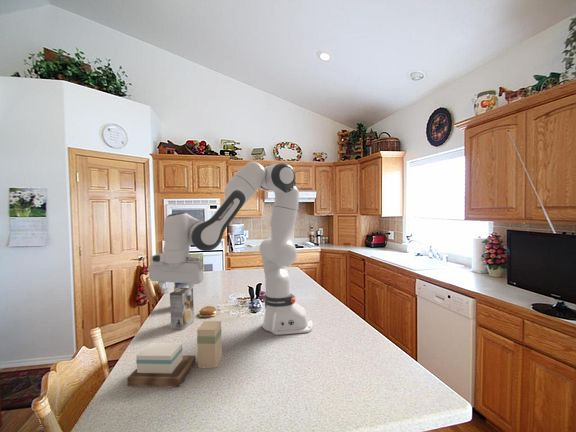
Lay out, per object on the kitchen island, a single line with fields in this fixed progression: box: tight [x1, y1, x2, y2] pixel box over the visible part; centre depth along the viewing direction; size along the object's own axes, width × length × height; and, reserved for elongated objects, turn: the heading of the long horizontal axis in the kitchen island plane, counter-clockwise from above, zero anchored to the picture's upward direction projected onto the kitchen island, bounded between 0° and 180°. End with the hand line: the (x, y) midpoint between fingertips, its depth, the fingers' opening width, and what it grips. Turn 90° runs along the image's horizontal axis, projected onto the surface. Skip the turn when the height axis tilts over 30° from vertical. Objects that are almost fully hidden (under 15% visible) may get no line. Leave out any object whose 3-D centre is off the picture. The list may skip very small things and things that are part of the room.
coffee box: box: [169, 287, 195, 330], centre depth 128 cm, size 9×6×16 cm
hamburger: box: [198, 305, 221, 318], centre depth 142 cm, size 14×14×6 cm
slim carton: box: [196, 320, 223, 369], centre depth 97 cm, size 6×7×13 cm
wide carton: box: [135, 342, 183, 373], centre depth 91 cm, size 11×8×6 cm
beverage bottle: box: [173, 282, 189, 291], centre depth 152 cm, size 8×8×20 cm
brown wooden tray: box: [127, 354, 197, 387], centre depth 91 cm, size 16×13×2 cm
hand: (176, 294), depth 103 cm, fingers open, 8 cm apart
